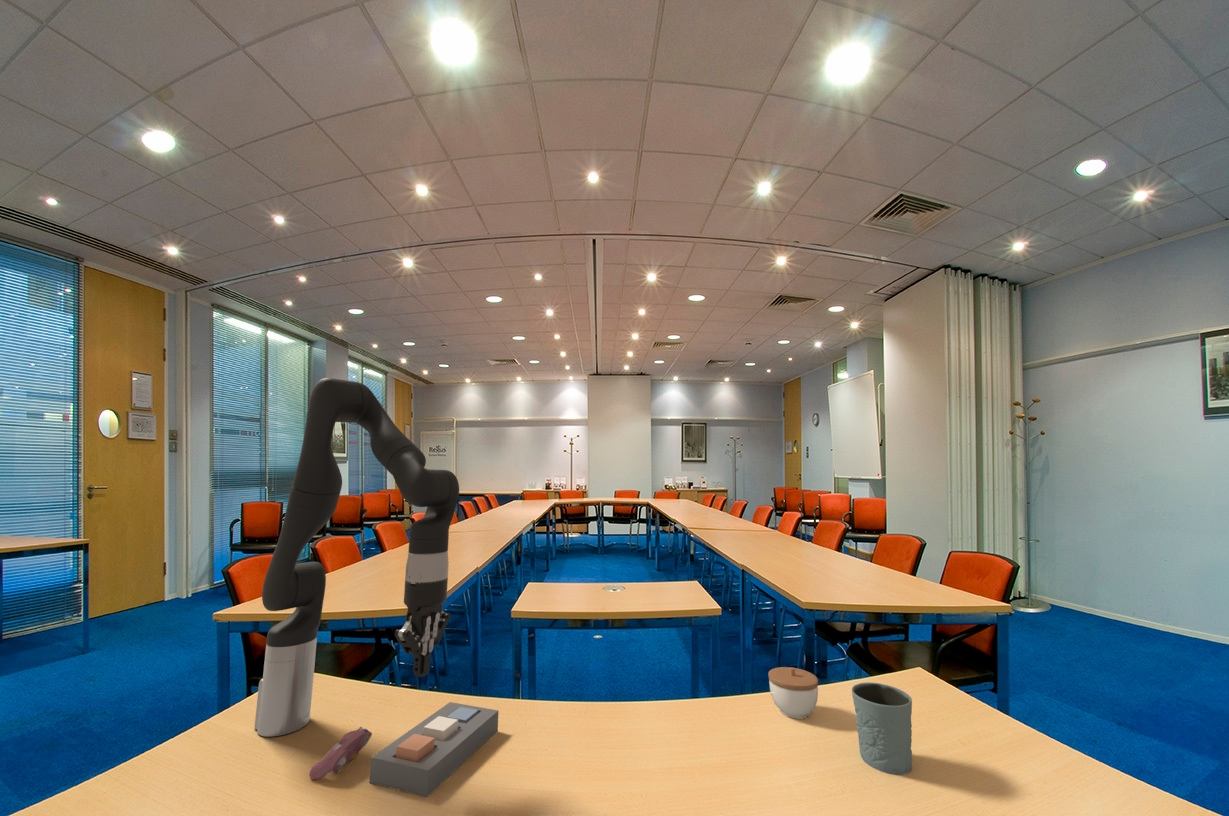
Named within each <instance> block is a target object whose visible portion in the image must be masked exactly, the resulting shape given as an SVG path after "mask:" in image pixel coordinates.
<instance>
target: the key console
mask: <svg viewBox="0 0 1229 816" xmlns="http://www.w3.org/2000/svg"><path fill="white" fill-rule="evenodd" d="M459 707H464V708H470V709H476V710H478V714H477V715H476V716H475V717H473V718H472V719H471V720H470V721H469V722H467V723H461V722H458V730H457V731H456V732H455V733H454V734H452V735H451V736H450V737H449V738H448V739H446V740H445V741H444V742H443V741H438V740H435V743H434V750H433V751H431V752H430V753H429V754H428V755H427V756H425V757H424V758H423V759H422V760H420V761H419V762H418V763H417V762H412V761H408V760H403V759H399V758H396V748H397V746H398V745H399V744H401V743H402V742H404V741H405V740H406V739H408V738H409V737H411V736H412V735H413V734H418V735H423V728H424V726H426V725H427V724H429V723H430V722H431V721H433V720H434V719H436V718H437V717H438V716H441V717H447V716H448V715H450V714H451V713H452V712H454V711H455V710H456V709H458V708H459ZM498 731H499V709H492V708H486V707H481V706H475V705H469V704H463V703H458V702H452V701H449V702H448V703H447V704H445V705H444V706H442V707H441V708H440V709H438V710H437V711H435V712H434V713H432V714H431V715H429V716H428V717H426V718H425V719H424V720H422V721H421V722H419V723H418V724H417V725H415V726H413V727H412V728H411V729H410V730H408V731H407V732H405V733H404V734H401V736H399V737H398V738H397V739H394V741H392V742H390V744H388V745H387V746H386V747H384V748H383V749H381V750H379V751H378V752H377V753H375V754H374V755H373V756H371V757H370V770H369V783H370V784H374V785H378V786H381V787H385V788H389V787H391V788H390V789H393V788H394V790H397V789H399V790H398V791H401V792H406V793H409V794H414V795H418V796H422V797H424V798H428V797H429V796H430V795H431V794H432V793H433V792H434V791H435V790H436V789H438V787H439V786H440V785H442V784H443V783H444V782H445V781H446V780H447V779H449V777H451V775H452V774H453V773H455V772H456V770H458V769H459V768H460V767H461V766H462V765H463V764H464V763H465V762H466V761H467V760H468V759H470V758H471V757H472V755H474V754H475V753H476V752H477V751H478V750H479V749H480V748H481V747H482V746H484V744H486V742H488V741H489V740H490V739H491V738H492V737H493V736H495V734H496V733H498Z"/></svg>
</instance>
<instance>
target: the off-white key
mask: <svg viewBox="0 0 1229 816" xmlns="http://www.w3.org/2000/svg"><path fill="white" fill-rule="evenodd" d="M457 730H458V719H452V718H447V717H441V716H438V717H437V718H436V719H434V720H433V721H431V722H430V723H429V724H427V725H426V726H424V728H423V736H428V737H433V738H435V740H438V741H443V742H444V741H445V740H446V739H448V738H449V737H450V736H451V735H452V734H454V733H455V732H456V731H457Z"/></svg>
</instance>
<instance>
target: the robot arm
mask: <svg viewBox="0 0 1229 816" xmlns="http://www.w3.org/2000/svg"><path fill="white" fill-rule="evenodd" d="M307 406H308V407H307V413H306V421H305V428H304V435H303V439H302V445H301V450H300V454H299V455H300V456H299V459H298V463H297V467H296V470H295V474H294V477H293V481H292V485H291V488H290V491H289V495H288V500H287V505H286V509H285V513H284V518H283V522H282V525H281V530H280V533H279V537H278V541H277V543H276V546H275V549H274V550H273V551H274V552H273V555H272V557H271V560H270V562H269V565H268V568H267V571H266V574H265V577H264V581H263V585H262V592H261V601H262V605H263V607H264V609H265V610H267V611H269V612H279V611H286V610H290V609H294V611H293V612H292V613H291V614H290V615H289V616H288V617H286V618H285V619H284V620H282V621H280V622H279V623H276V624H275V625H274V626H272V627H270V628H269V630H268V632H267V635H266V642H265V643H266V644H265V652H264V664H263V674H262V678H261V679H260V680H259V682H258V689H257V697H256V699H257V701H256V708H255V709H256V711H255V718H254V719H255V720H254V730H256V731H257V734H258V735H259V736H261V737H279V736H284V735H288V734H291V733H293V732H296V731H298V730H300V729H302V728H303V727H305V726H307V724H308V723H309V722H310V720H311V719H310V718H311V709H312V708H311V707H312V699H313V698H312V697H313V687H314V675H315V674H314V673H315V663H316V651H317V640H318V632H319V628H320V625H321V621H322V614H323V606H324V599H325V593H326V584H327V577H326V570H325V568H324V566H323V563H321V562H318V561H308V562H307V561H306V562H298V559H299V557H300V556H301V553H302V551H303V550H304V549H305V547H306V546H307V545H308V543H309V542H310V541H311V540H312V539H313V538H314V537H315V535H317V533H318V532H320V531H321V529H322V528H323V527H324V526H325V525H326V524H327V523H328V522H329V520H330V519H331V518H332V516H333V515H334V514H335V512H336V509H337V507H338V503H339V500H340V499H339V498H340V496H341V491H342V486H343V477H342V476H343V475H342V473H341V470H340V468H339V465H338V462H337V461H336V457H335V455H334V452H333V447H332V444H333V443H332V439H333V433H334V432H333V431H334V429H335V425H336V423H349V424H351V423H352V424H353V423H354V424H357V425H359V426H360V427H362V428H363V429H364V430H366V431H367V432H368V433H369V439H370V441H369V443H370V448H371V452H372V454H373V455H374V457H375V458H376V459H377V461H378V462H379V464H381V465H382V467H384V468H385V470H386V471H387V472H388V473H389V474H390V475H392V477H393V479H394V481H395V482H394V483H395V484H396V486H397V488H398V491H399V493H400V494H401V496H402V498H403V499H404V500H405V501H406V502H407V503H408V504H410V505H412V506H413V507H418V508H426V510H425V513H424V515H423V517H421V518H420V519H418V520H416V521H414V522H413V523H412V524H411V526H410V528H409V535H408V536H409V539H408V551H407V552H408V553H407V559H406V564H405V574H404V575H405V577H404V579H405V580H404V590H403V591H404V593H403V604H404V605H405V606H406V609H407V611H406V614H405V617H404V620H405V623H404V625H403V626H402V627H401V628H397V629H396V630H395V631H394V637H395V638H396V641H397V642H398V644H399V645H400V646H401V648H402V650H403V652H404V653H405V654H407V655H413V665H412V666H413V668H412V673H413V676H415V677H420V678H423V677H424V676H426V675H428V674H429V673H430V666H431V654H432V652H433V649H434V647H435V646H438V645H439V644H440V641H441V639H442V637H443V635H444V632H445V630H446V627H447V626H448V623H449V622H450V621H449V620H450V619H451V613H447V612H445V611H444V610H443V609H444V605H443V603H445V602H446V601H447V598H448V584H449V583H448V581H449V580H448V579H449V536H450V535H449V534H450V533H449V531H450V527H451V524H452V521H453V518H454V514H455V511H456V507H457V505H458V502H459V501H458V500H459V496H460V495H459V494H460V485H459V481H458V478H457V476H456V474H454V472H453V471H450V470H447V469H427V468H425V466H426V464H427V460H426V456H425V454H424V453H423V451H422V450H421V449H420V448H419V447H417V446H416V444H415V443H414V442H412V441H411V439H409V438H408V437H407V435H405V434H404V433H403V432H402V431H401V430H400V428H398V426H397V425H396V424H395V423H394V421H393V420H392V419H391V417H390V416H389V414H388V413H387V412H386V410H385V408H384V407H383V406H382V404H381V402H379V400H378V398H377V397H376V395H375V393H374V392H373V391H372V389H370V388H369V387H368V386H367V385H366V384H364V383H361V382H358V381H354V380H348V379H347V380H346V379H340V378H332V377H324V378H321V379H320V380H318V381H317V382H316V383H315V384H314V387H313V388H312V390H311V393H310V396H309V401H308V405H307ZM297 562H298V563H297Z"/></svg>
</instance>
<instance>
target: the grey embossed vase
mask: <svg viewBox="0 0 1229 816" xmlns="http://www.w3.org/2000/svg"><path fill="white" fill-rule="evenodd" d="M851 693H852V694H851V695H852V699H853V706H854V711H855V714H856V715H855V721H856V732H857V736H858V737H857V738H858V745H859V754H860V758H861V759H862V761H863V762H864V763H865V764H867V765H868V766H869V767H871V768H872V769H875V770H876V771H880V772H882V773H886V774H891V775H905V774H906V775H907V774H908V773H910V772H911V771H912V769H913V752H912V741H913V739H912V735H913V731H912V730H913V729H912V727H913V726H912V725H913V724H912V711H913V710H912V709H913V699H912V697H911V696H910V694H908V693H907V692H906V691H904V690H902V689H901V688H897V687H895V686H892V685H888V684H885V683H878V682H871V681H870V682H868V681H867V682H860V683H857V684H854V685H853V686H852V688H851Z"/></svg>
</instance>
